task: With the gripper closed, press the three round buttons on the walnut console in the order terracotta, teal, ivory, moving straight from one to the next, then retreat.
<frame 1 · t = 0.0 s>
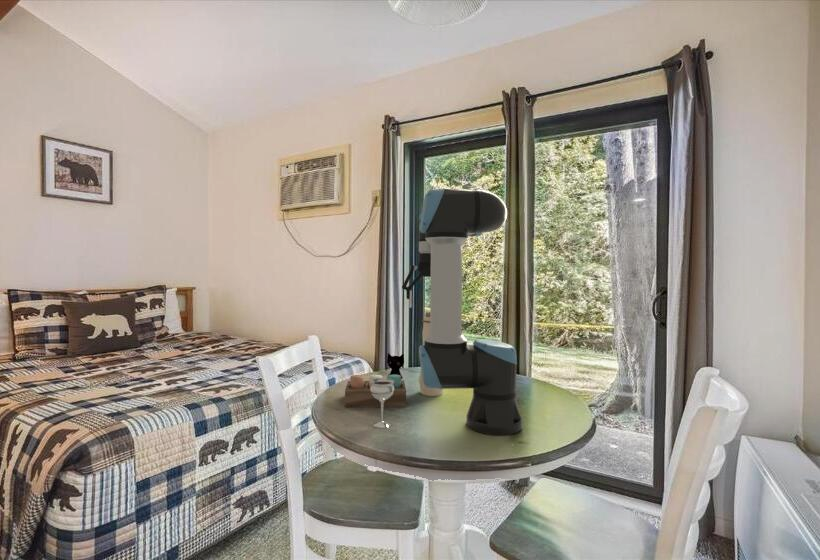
hand: (427, 307, 165), 28 cm above the table, fingers open, 13 cm apart
water bottle: (433, 393, 148), on the table
terracotta button: (357, 384, 138), point 5 cm above the table, slide at 0.0 cm
ivory button: (375, 384, 139), point 5 cm above the table, slide at 0.0 cm
cat figurine: (395, 385, 157), on the table
wineglass: (382, 425, 118), on the table
console: (375, 400, 139), on the table
teal button: (394, 384, 139), point 5 cm above the table, slide at 0.0 cm
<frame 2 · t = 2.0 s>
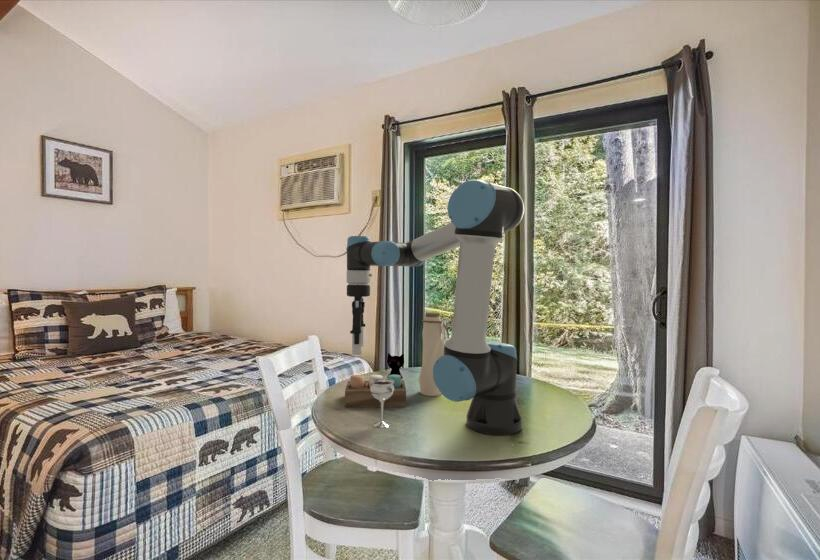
hand: (358, 350, 138), 17 cm above the table, fingers open, 12 cm apart
nothing on the table moved.
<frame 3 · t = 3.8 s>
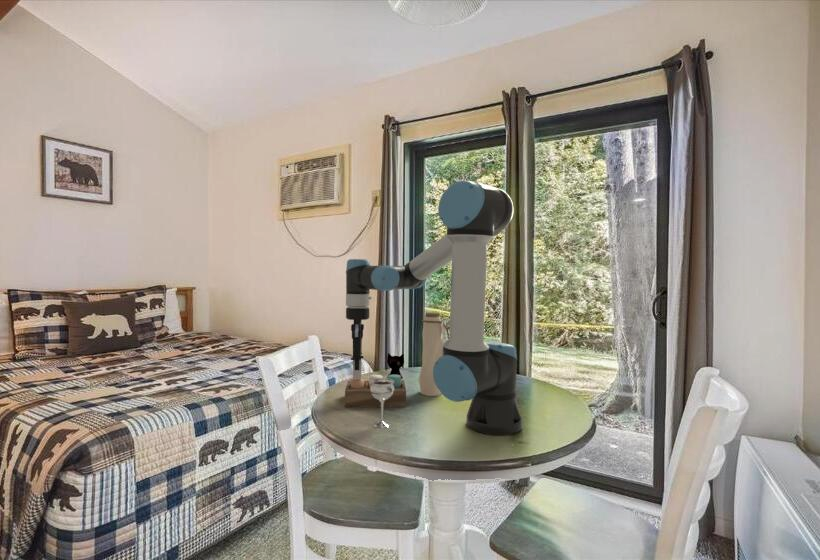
hand: (357, 379, 138), 7 cm above the table, fingers closed
terracotta button: (357, 387, 138), point 4 cm above the table, slide at 1.1 cm, touching gripper
everything else where it was.
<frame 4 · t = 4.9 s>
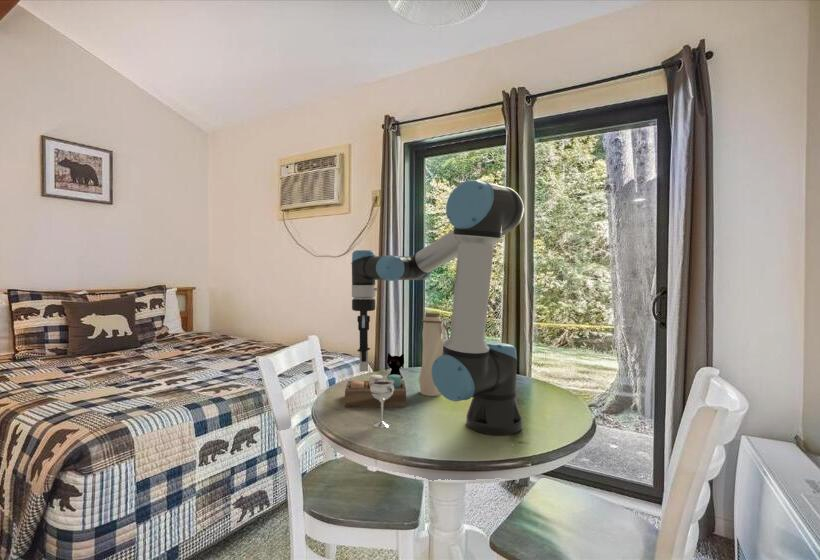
hand: (363, 370, 138), 10 cm above the table, fingers closed
terracotta button: (357, 390, 138), point 3 cm above the table, slide at 2.0 cm
everything else where it was.
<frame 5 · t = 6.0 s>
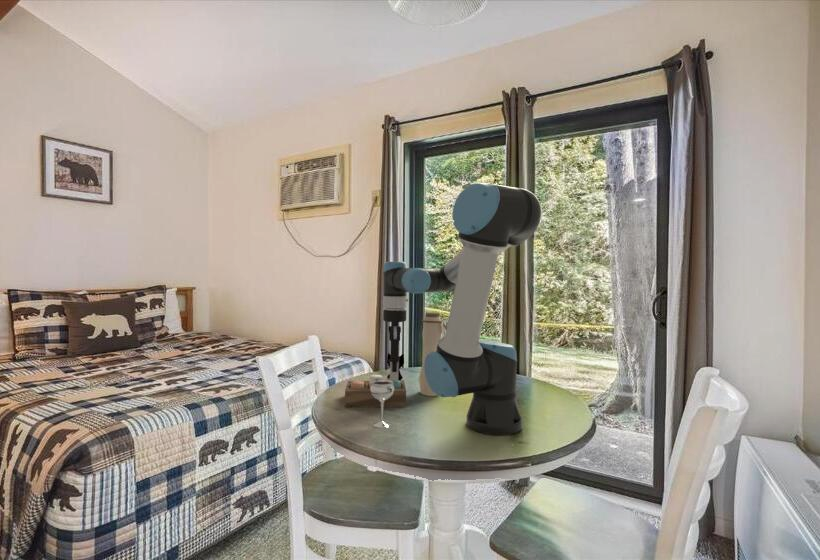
hand: (394, 380, 139), 6 cm above the table, fingers closed
teal button: (394, 389, 139), point 4 cm above the table, slide at 1.8 cm, touching gripper
everything else where it was.
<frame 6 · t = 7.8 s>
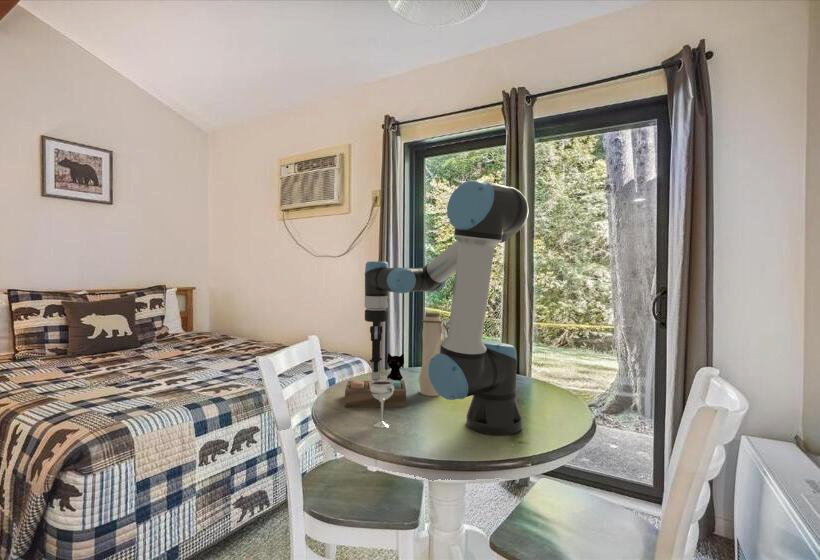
hand: (375, 380, 139), 6 cm above the table, fingers closed
ivory button: (375, 389, 139), point 4 cm above the table, slide at 1.8 cm
teal button: (394, 390, 139), point 3 cm above the table, slide at 2.0 cm
everything else where it was.
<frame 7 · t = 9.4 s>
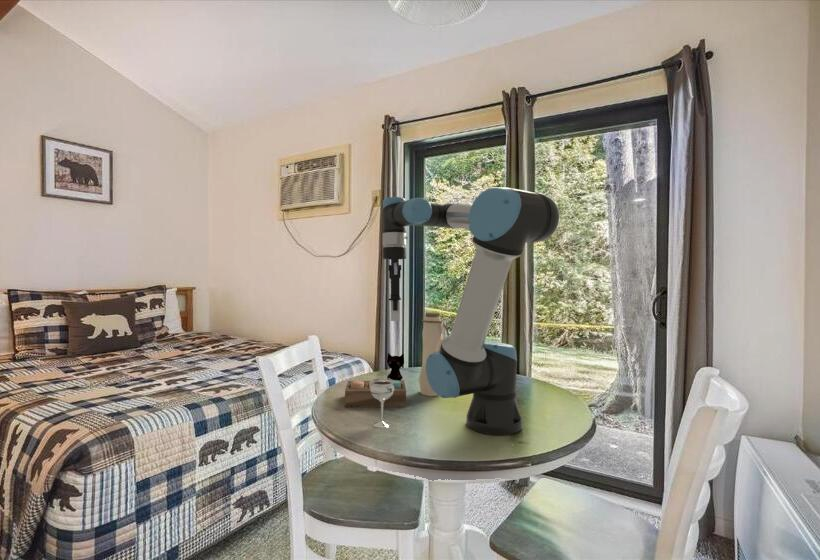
hand: (395, 320, 136), 27 cm above the table, fingers closed
nothing on the table moved.
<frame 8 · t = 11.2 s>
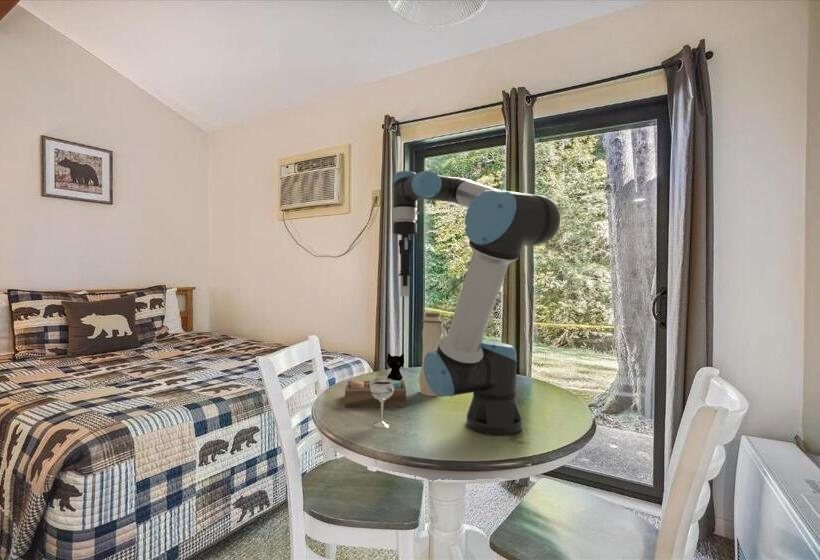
hand: (404, 296, 135), 34 cm above the table, fingers closed
nothing on the table moved.
at the end: terracotta button slide at 2.0 cm; teal button slide at 2.0 cm; ivory button slide at 2.0 cm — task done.
